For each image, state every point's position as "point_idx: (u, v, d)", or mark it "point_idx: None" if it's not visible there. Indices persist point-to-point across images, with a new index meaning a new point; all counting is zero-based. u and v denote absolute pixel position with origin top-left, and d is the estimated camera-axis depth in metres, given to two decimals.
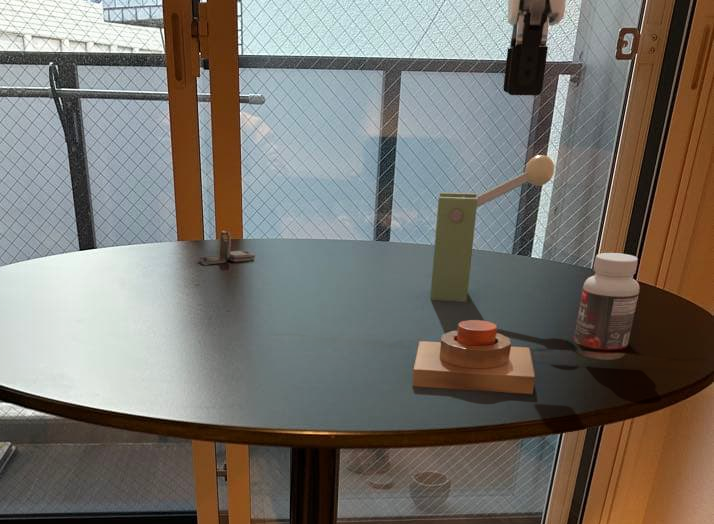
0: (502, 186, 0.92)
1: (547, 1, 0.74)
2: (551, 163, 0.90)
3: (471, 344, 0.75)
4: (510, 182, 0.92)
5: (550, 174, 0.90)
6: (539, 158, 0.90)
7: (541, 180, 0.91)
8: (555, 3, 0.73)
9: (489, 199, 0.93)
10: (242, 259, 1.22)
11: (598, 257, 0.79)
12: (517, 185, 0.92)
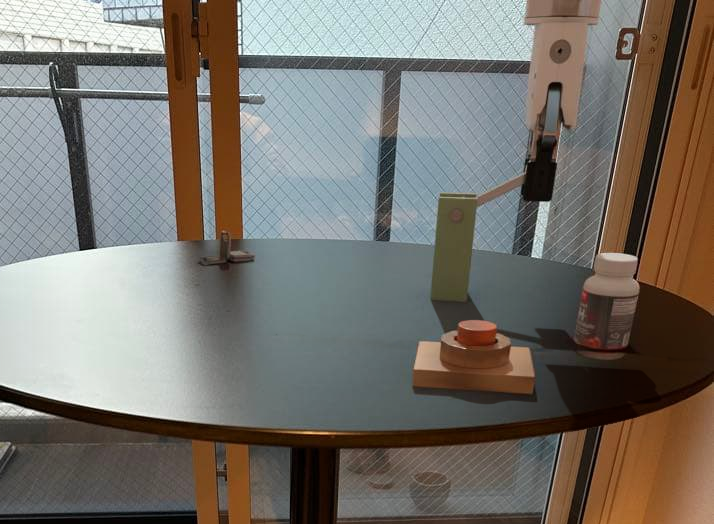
0: (502, 186, 0.92)
1: (559, 122, 0.86)
2: None
3: (471, 344, 0.75)
4: (510, 182, 0.92)
5: None
6: None
7: None
8: (568, 117, 0.84)
9: (489, 199, 0.93)
10: (242, 259, 1.22)
11: (598, 257, 0.79)
12: (517, 185, 0.92)
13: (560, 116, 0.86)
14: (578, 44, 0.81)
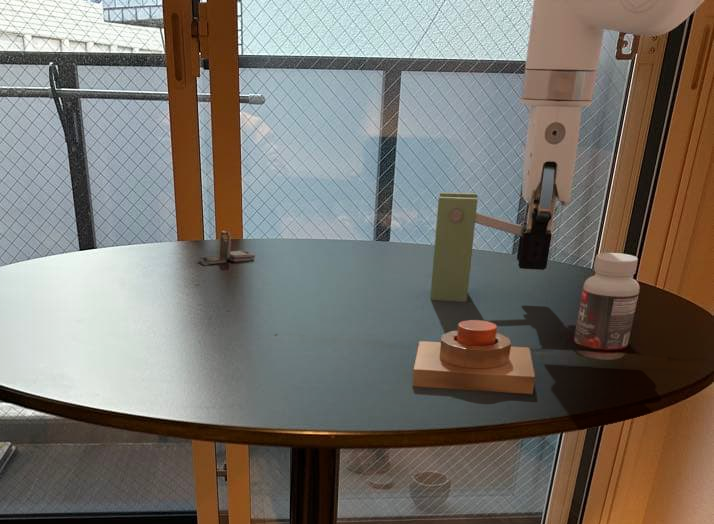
0: (504, 223, 0.94)
1: (553, 197, 0.90)
2: None
3: (471, 344, 0.75)
4: (512, 225, 0.94)
5: None
6: None
7: None
8: (562, 194, 0.88)
9: (487, 224, 0.95)
10: (242, 259, 1.22)
11: (598, 257, 0.79)
12: (515, 232, 0.94)
13: (555, 191, 0.90)
14: (571, 126, 0.85)
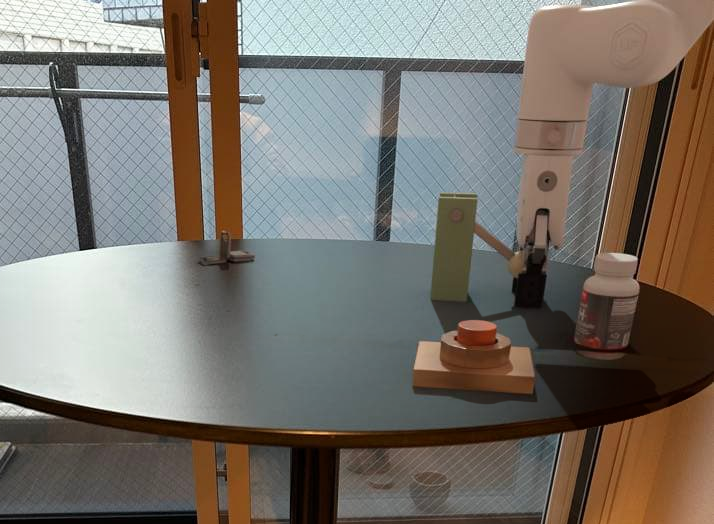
0: (495, 240, 0.95)
1: (547, 238, 0.91)
2: None
3: (471, 344, 0.75)
4: (502, 245, 0.95)
5: None
6: None
7: (515, 272, 0.96)
8: (555, 239, 0.90)
9: (480, 235, 0.95)
10: (242, 259, 1.22)
11: (598, 257, 0.79)
12: (502, 253, 0.96)
13: (548, 233, 0.91)
14: (563, 175, 0.87)
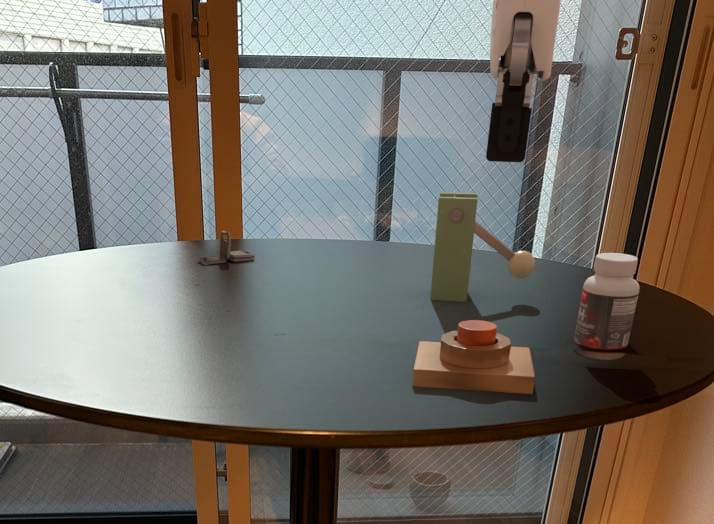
0: (495, 240, 0.95)
1: (532, 57, 0.64)
2: (531, 271, 0.96)
3: (471, 344, 0.75)
4: (502, 245, 0.95)
5: (522, 276, 0.96)
6: (531, 259, 0.95)
7: (515, 272, 0.96)
8: (540, 60, 0.63)
9: (480, 235, 0.95)
10: (242, 259, 1.22)
11: (598, 257, 0.79)
12: (502, 253, 0.96)
13: (533, 51, 0.65)
14: None
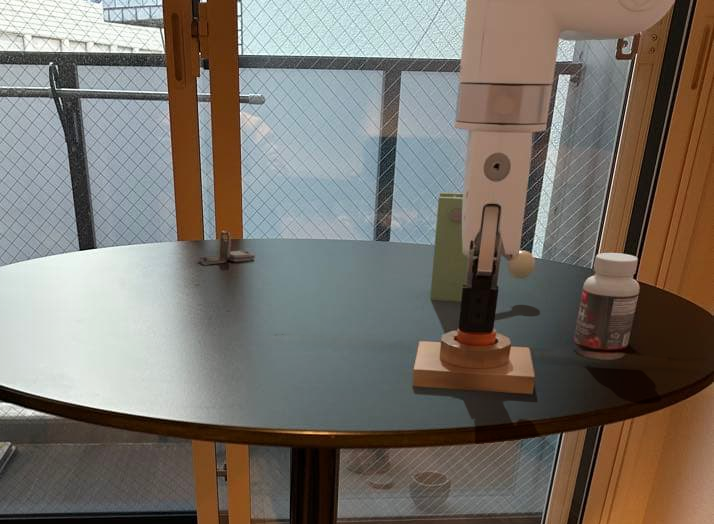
0: None
1: (499, 248, 0.70)
2: (531, 271, 0.96)
3: None
4: None
5: (522, 276, 0.96)
6: (531, 259, 0.95)
7: (515, 272, 0.96)
8: (509, 245, 0.67)
9: None
10: (242, 259, 1.22)
11: (598, 257, 0.79)
12: (502, 253, 0.96)
13: (500, 241, 0.69)
14: (519, 158, 0.64)
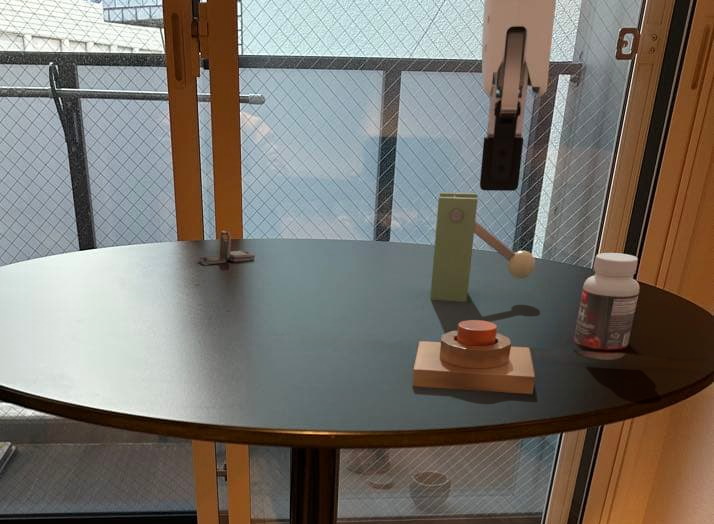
0: (495, 240, 0.95)
1: (524, 86, 0.64)
2: (531, 271, 0.96)
3: (471, 344, 0.75)
4: (502, 245, 0.95)
5: (522, 276, 0.96)
6: (531, 259, 0.95)
7: (515, 272, 0.96)
8: (536, 76, 0.61)
9: (480, 235, 0.95)
10: (242, 259, 1.22)
11: (598, 257, 0.79)
12: (502, 253, 0.96)
13: (525, 78, 0.63)
14: None
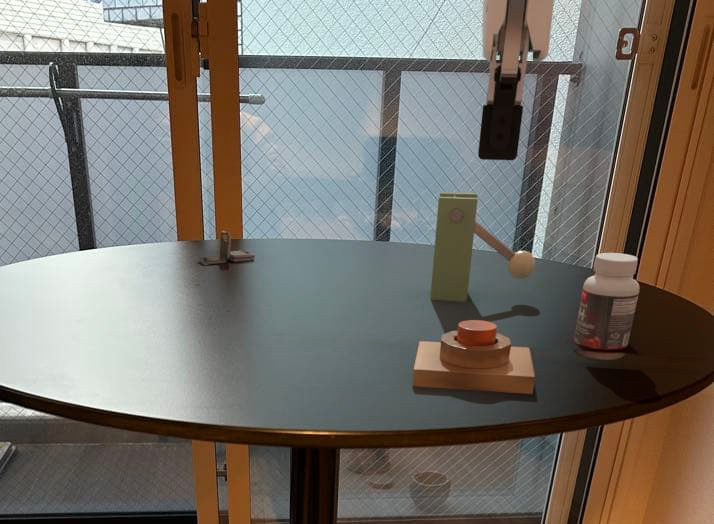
0: (495, 240, 0.95)
1: (525, 51, 0.62)
2: (531, 271, 0.96)
3: (471, 344, 0.75)
4: (502, 245, 0.95)
5: (522, 276, 0.96)
6: (531, 259, 0.95)
7: (515, 272, 0.96)
8: (537, 38, 0.59)
9: (480, 235, 0.95)
10: (242, 259, 1.22)
11: (598, 257, 0.79)
12: (502, 253, 0.96)
13: (526, 42, 0.62)
14: None
